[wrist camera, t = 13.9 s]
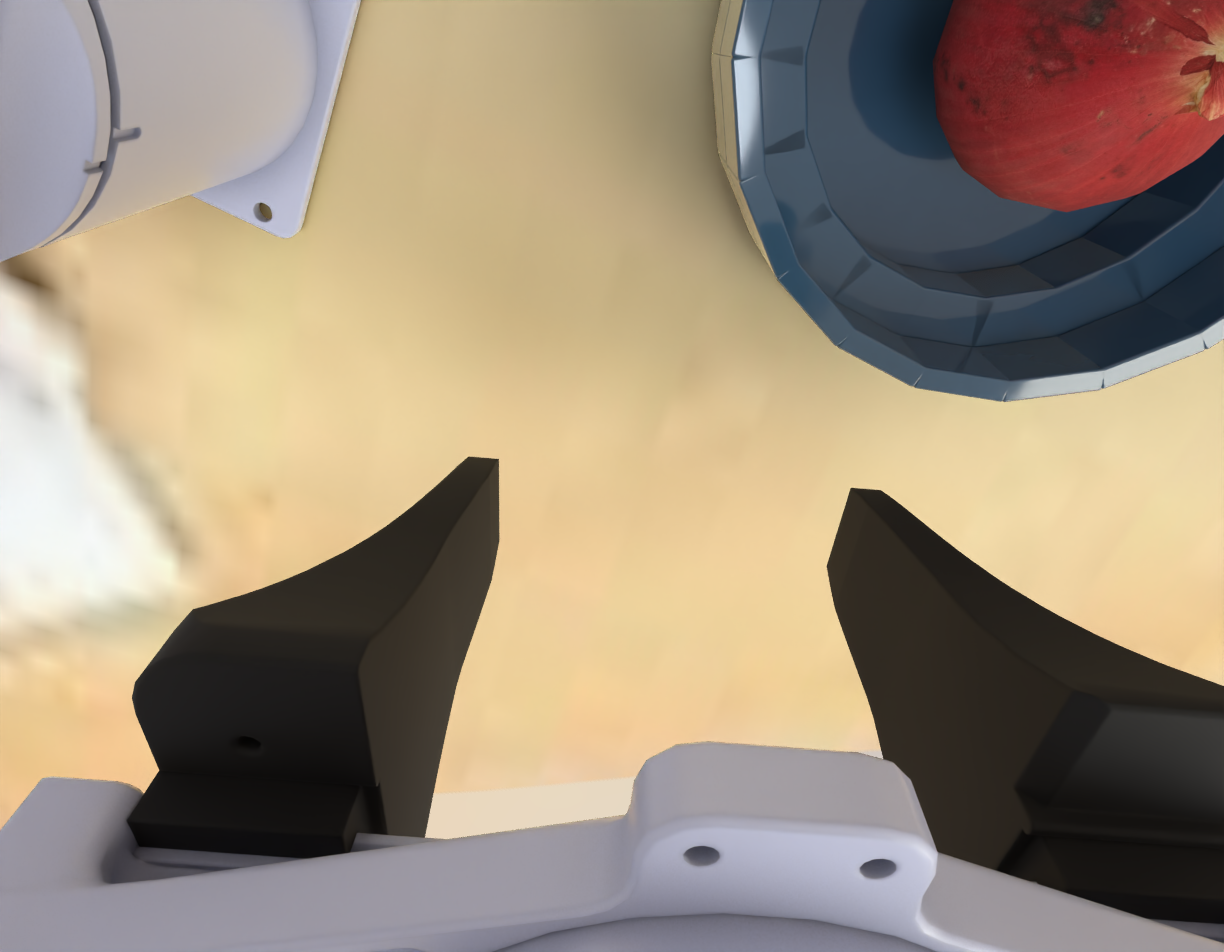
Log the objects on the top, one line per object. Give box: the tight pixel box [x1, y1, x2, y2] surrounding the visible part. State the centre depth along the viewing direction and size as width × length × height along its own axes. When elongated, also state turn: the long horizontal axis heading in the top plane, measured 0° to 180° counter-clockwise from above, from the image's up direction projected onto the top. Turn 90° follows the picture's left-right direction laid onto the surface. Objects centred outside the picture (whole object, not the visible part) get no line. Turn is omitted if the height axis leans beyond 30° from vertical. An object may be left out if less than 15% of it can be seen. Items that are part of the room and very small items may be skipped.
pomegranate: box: [933, 0, 1224, 212], centre depth 14 cm, size 6×6×8 cm
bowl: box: [711, 0, 1224, 402], centre depth 16 cm, size 15×15×5 cm
